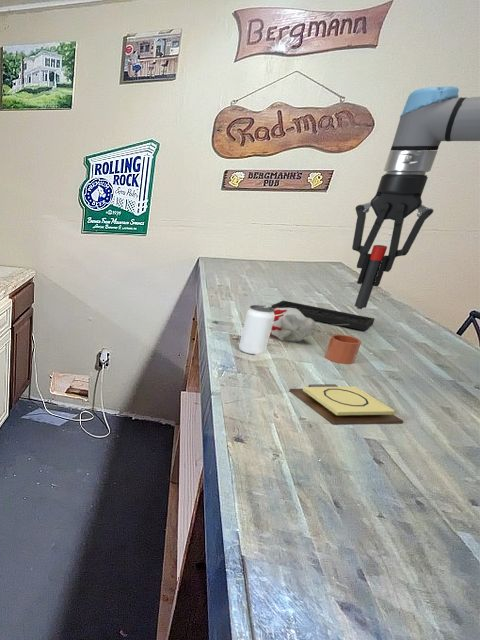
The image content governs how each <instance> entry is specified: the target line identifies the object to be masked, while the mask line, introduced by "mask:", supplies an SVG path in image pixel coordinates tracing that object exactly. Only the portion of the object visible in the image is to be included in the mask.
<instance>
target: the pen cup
mask: <svg viewBox="0 0 480 640" xmlns="http://www.w3.org/2000/svg"><path fill="white" fill-rule="evenodd" d="M361 345H362V340H361V339H359V338H357V337H354V336H350V335H347V334H332V335H331V336H330V338H329V342H328V346H327V349H326V352H325V354H324V358H325V359H326V360H327V361H330V362H333V363H337V364H342V365H353V364H355V362H356V359H357V356H358V354H359V350H360V347H361Z"/></svg>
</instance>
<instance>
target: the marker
mask: <svg viewBox="0 0 480 640" xmlns="http://www.w3.org/2000/svg"><path fill="white" fill-rule="evenodd" d="M387 249H388V246H387V245H381V244H374V245H372V250H371V252H370V254H371V256H370V260H369V263H368V266H367V269H366V272H365V275H364V278H363V281H362V283H361V284H360V287H359V290H358V292H357V293H358V294H357V296H356V300H355V303H354V307H356V309H357V310H358V309H359V310H363V309H366V308H367V305H368V303H369V300H370V297H371V294H372V291H373V288H374V287H375V286H374V283H375V280H376V277H377V274H378V271H379V268H380V265H381V262H382V259H383V257H384V256H385V255H386V252H387Z"/></svg>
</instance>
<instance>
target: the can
mask: <svg viewBox="0 0 480 640" xmlns="http://www.w3.org/2000/svg"><path fill="white" fill-rule="evenodd" d="M271 307H272V306H267V305H262V304H252V305H250V306H249V309H248V310H247V311H246V315H245V319H244V322H243V327H242V331H241V336H240V340H239V344H238V349H239V351H240V352H242V353H244V354H248V355H251V356H256V355H262V354H265V353H266V351H267V348H268V343H269V340H270V337H271V336H270V333H271V329H272V325H273V321H274V317H275V314H274V309H273V308H271Z"/></svg>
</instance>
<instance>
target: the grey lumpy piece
mask: <svg viewBox="0 0 480 640" xmlns="http://www.w3.org/2000/svg"><path fill="white" fill-rule="evenodd" d="M274 314H275V317H274V321H273V325H272V329H271V333H270V337H271V338H277V339H279V340H280V341H281V342H283V341H286V342H287V341H288V342H293V343H298V342H301V341H303V340H304V338H305V337H307V338H308V337H312V336H314V335H315V333H316V329H317V326H316V321H315V320H313V319H311V318H307V317H305V316H304V315H303V314H302V313H301V312H300V311H299V310H298V309H296V308H278V307H277V308H274Z"/></svg>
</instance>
